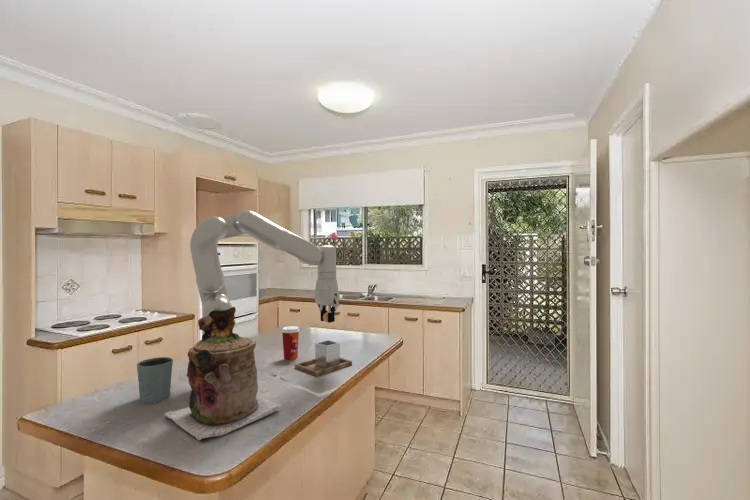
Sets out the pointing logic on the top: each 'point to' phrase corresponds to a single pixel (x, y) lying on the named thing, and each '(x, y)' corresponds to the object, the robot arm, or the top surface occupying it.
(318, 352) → the square metal container
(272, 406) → the cookie jar
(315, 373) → the walnut tray
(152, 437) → the top surface
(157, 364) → the teal cup
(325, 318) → the mixing ball
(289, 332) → the paper cup
